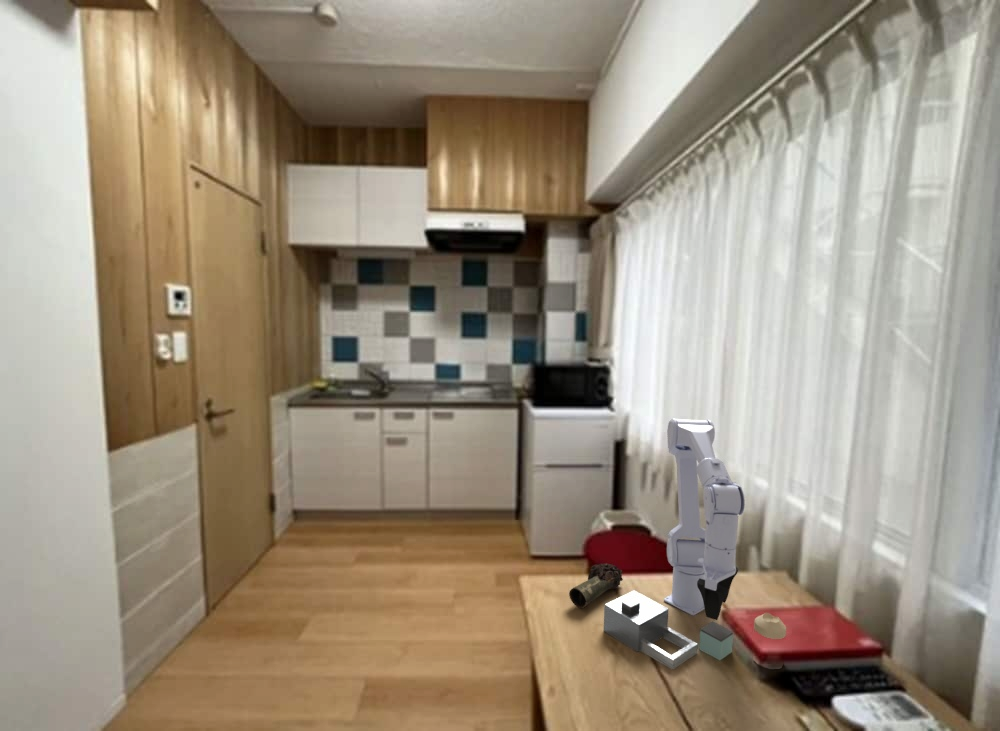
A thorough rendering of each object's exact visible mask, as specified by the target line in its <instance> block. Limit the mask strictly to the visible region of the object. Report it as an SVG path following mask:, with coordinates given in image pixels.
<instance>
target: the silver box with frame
mask: <svg viewBox="0 0 1000 731" xmlns="http://www.w3.org/2000/svg"><path fill="white" fill-rule="evenodd" d="M603 610H604V612H603V632H604V633H606V634H608V635H609V636H611V637H612V638H614V639H615V640H617V641H619V642H621V643H622V644H624V645H625V646H626V647H628V648H630V649H632V650H633V651H635V652H641V653H644V654H645V655H646V656H648V657H650V658H651V659H654V660H655V661H656V662H658V663H660V664H662V665H664V666H665V667H667V668H668V669H670V670H675V669H676V668H677V667H679V666H680V665H682V664H684V662H686V661H688V660H690V658H692V657H694V656H696V655H697V654H698V650H699V648H698V647H699V644H698V643H697V642H695V641H694V640H692V639H690V638H688V637H686V636H685V635H683V634H682V633H680V632H678V631H676V630H674V629H673V628H671V627H669V626H668V625H669V610H670V609H669V608H668V607H666V606H664V605H663V604H661V603H659V602H658V601H655V600H653V599H651V598H650V597H648V596H646V595H644V594H642V593H641V592H638V591H636V590H632V591H629V592H628V593H626V594H624V595H622V596H619V597H618V598H617V597H616V599H615V598H614V599H613V600H611V601H609V602H607V603H605V604H604V609H603ZM662 638H663V639H664V640H666V641H668V642H670V643H671V644H673V645H675V646H676V647H679V648H681V649H678V651H676V652H674V653H673V654H671V653H668V652H667V651H666V650H664V649H662V648H660V647H659V646H657V645H655V644H654V643H656V642H657V641H659V640H660V639H662Z"/></svg>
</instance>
